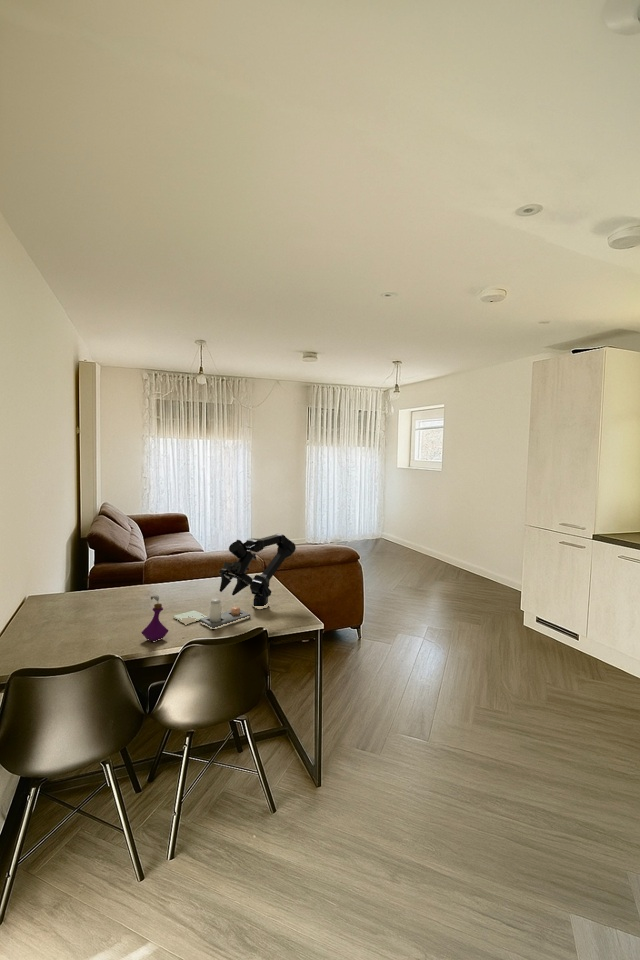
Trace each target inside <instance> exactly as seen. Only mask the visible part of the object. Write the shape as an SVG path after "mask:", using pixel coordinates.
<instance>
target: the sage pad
mask: <svg viewBox="0 0 640 960" xmlns="http://www.w3.org/2000/svg"><path fill="white" fill-rule="evenodd" d="M201 615H203V616H204V617H208V616H207V615H206V614H203V613H201V612H199V611H196V610H190V611H187V612H183V613H179V614H175V615H172V618H173V617H175V618H177V619H179V618H180V619H181V620H182V618H188V616H189V617H191V618H196V619H201V618H204V617H203V616H201ZM192 616H193V617H192ZM196 619H195V620H196Z"/></svg>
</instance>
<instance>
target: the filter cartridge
mask: <svg viewBox="0 0 640 960" xmlns="http://www.w3.org/2000/svg"><path fill="white" fill-rule="evenodd" d="M221 613H222V600H221V599H220V598H212V599H210V601H209V616H210V622H212V623H216V622H220V621H221Z"/></svg>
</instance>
